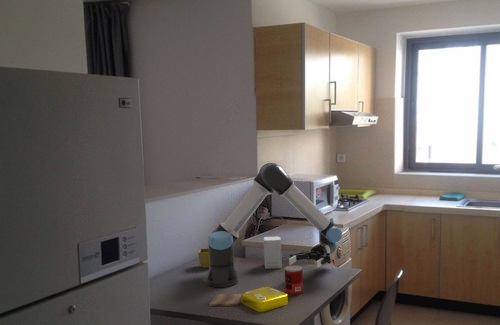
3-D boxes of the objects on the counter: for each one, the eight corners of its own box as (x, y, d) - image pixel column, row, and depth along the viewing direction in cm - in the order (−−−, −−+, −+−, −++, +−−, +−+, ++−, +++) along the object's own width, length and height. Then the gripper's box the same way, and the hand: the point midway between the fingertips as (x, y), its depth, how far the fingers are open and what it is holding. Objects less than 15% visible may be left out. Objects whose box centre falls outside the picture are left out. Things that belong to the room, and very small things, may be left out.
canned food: (305, 290, 213) (304, 265, 212) (299, 296, 205) (298, 270, 205) (289, 288, 216) (288, 264, 215) (282, 294, 209) (281, 269, 208)
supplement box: (282, 268, 249) (281, 239, 248) (264, 269, 249) (263, 240, 248) (281, 263, 258) (280, 236, 257) (264, 264, 258) (263, 236, 257)
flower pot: (215, 268, 253) (214, 252, 252) (198, 269, 253) (197, 252, 253) (216, 264, 262) (216, 248, 261) (200, 264, 262) (200, 248, 261)
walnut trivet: (209, 305, 198) (209, 304, 198) (213, 296, 210) (213, 294, 210) (238, 305, 197) (238, 303, 197) (241, 295, 209) (241, 294, 209)
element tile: (290, 304, 196) (289, 293, 196) (260, 313, 188) (259, 301, 188) (268, 295, 209) (268, 284, 209) (239, 303, 201) (239, 292, 200)
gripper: (344, 261, 231) (329, 273, 213) (297, 257, 243) (279, 268, 225) (344, 246, 231) (329, 257, 212) (296, 242, 243) (278, 252, 224)
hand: (303, 263), depth 218 cm, fingers open, 13 cm apart
